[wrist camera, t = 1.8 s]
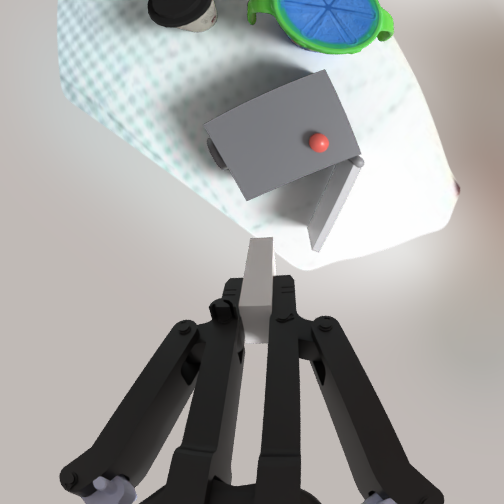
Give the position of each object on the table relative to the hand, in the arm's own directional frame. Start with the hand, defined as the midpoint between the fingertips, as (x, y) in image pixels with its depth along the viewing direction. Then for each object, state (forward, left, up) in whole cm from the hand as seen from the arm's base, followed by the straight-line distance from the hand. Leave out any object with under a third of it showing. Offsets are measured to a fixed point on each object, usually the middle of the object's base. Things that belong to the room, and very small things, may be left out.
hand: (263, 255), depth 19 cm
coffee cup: (-23, +2, -21) cm, 31 cm away
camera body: (-4, +4, -20) cm, 21 cm away
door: (+6, +7, -20) cm, 22 cm away
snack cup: (-15, +14, -21) cm, 29 cm away
